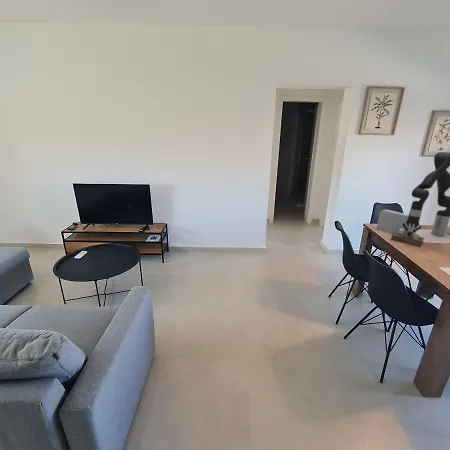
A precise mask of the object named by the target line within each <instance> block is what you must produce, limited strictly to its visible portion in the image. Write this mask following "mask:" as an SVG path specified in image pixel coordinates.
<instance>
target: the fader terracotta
mask: <svg viewBox="0 0 450 450" xmlns="http://www.w3.org/2000/svg"><path fill="white" fill-rule="evenodd" d="M419 237H420V234H417V233H416V234H414V237H413V239H415V240H418V238H419Z"/></svg>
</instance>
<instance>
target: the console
mask: <svg viewBox="0 0 450 450" xmlns="http://www.w3.org/2000/svg"><path fill="white" fill-rule="evenodd" d="M413 237H414V235H412V236H410V237H409V236H408V235H407V234H405V233H403V234H399V232H396V231H395V232H394V233H393V234H391V238H390V241H394V242H398V243H403V244H408V245H410V246H411V245H412V246H416V247H420V248H421V247H422V245H423V243H424V239H425V237H422V236H419V238H418V240H415V239H413Z"/></svg>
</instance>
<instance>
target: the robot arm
mask: <svg viewBox="0 0 450 450" xmlns="http://www.w3.org/2000/svg"><path fill="white" fill-rule="evenodd" d="M433 163H434V169H435V170H433V171H431V172H430V173H428V174H427V175H426V176H425V178H423V180H422V182H421V183H419V184H418V185H417V186H416V187H414V188H413V190H412V191H411V196H412V197H413V198H416V199H419V200H413V201H412V202H411V206H410V209H409V212H408V215H409V216H408V220H407V221H406V222H405V223H403V224H402V225H403V226H404V228H405V230H407V231H408V234H407V235H408V236H409V237H410V236H412V232H416V233H417V231H419V230H420V229H422V225H420V221H421V216H422V211H423V206H424V205H425V202H426V201H427V199H428V198H429V196H430V192H429V189H432V187H433V186H434V184H435V183H436V184H437V186H436V187H437V205H438V206H439V207H442V208H445V209H443V210H437V212H436V214H435V215H436V216H435V218H434V222H433V225H432V228H431V233H430V234H431V235H432V236H438V237H444V236H445V234H446V232H447V228H448V225H449V222H450V195H449V196H448V195H446V192H447V190H449V189H450V172H449V171H448V170H447V169H448V168H449V167H450V152H444V151H443V152H441V151H439V152H437V153H436V154H435V155H434V158H433ZM406 224H407V226H408V227H409V228H407V226H406ZM415 227H417V229H415V230H413V229H414V228H415ZM411 228H412V229H411ZM410 230H411V232H410Z"/></svg>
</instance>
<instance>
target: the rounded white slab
mask: <svg viewBox="0 0 450 450" xmlns="http://www.w3.org/2000/svg"><path fill="white" fill-rule="evenodd" d="M408 216H409V213H408V214H407V213H403V212H399V211H394V210H389V209H383V210H380V211H379V215H378V220H377V224H376V229H377V230H378V229H379V230H378V231H381V230H382V232H384V231H385V233H387V234H391V235H393V233H394V232H395V231H396V232H399V229H400V228H401V229H404V232H403V233H405V234H408V231H407V230H405V228H404V226H403V225H402V224H403V223H405V222H406V221H407V220H408ZM406 226H407V224H406ZM417 227H418V226H417ZM417 227H415V228H414V229H413V230H415V229H417ZM407 228H409V227H408V226H407ZM411 229H412V228H411ZM410 232H411V230H410ZM414 234H417V231H416V232H412V235H414Z"/></svg>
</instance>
